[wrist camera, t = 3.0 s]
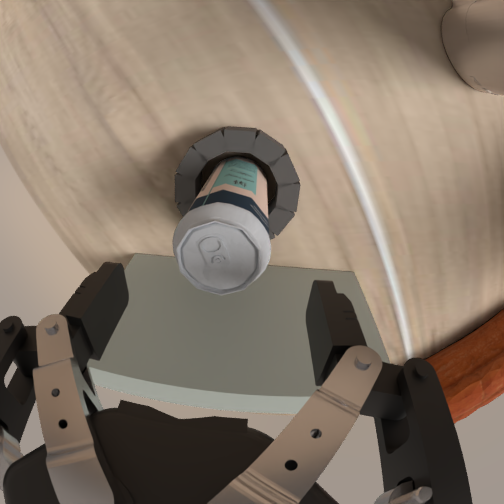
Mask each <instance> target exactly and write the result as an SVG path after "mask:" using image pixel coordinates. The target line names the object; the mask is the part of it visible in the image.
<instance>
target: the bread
mask: <svg viewBox="0 0 504 504" xmlns="http://www.w3.org/2000/svg"><path fill="white" fill-rule="evenodd" d="M426 361H427V362H429V363H430V364H431V365H432V366H433V367H434V369H435V371H436V374H437V376H438V379H439V381H440V384H441V387H442V390H443V392H444V395H445V398H446V401H447V404H448V407H449V410H450V413H451V416H452V419H453V422H454V424H455V423H456V422H457V421H459V420H461V419H464V418H466V417H467V416H469V415H470V414H472V413H473V412H474V411H476V410H477V409H478V408H480V407H482V406H484V405H486V404H488V403H490V402H491V401H493V400H494V399H495V398H497V397H498V396H500V395H501V394H503V393H504V309H503V310H502V311H501V312H499V313H498V314H497V315H495V316H494V317H493V318H492V319H490V320H489V321H488V322H486V323H485V324H484V325H482V326H481V327H479V328H478V329H477V330H475V331H473V332H472V333H470V334H469V335H467V336H466V337H464V338H463V339H461V340H459V341H458V342H456V343H454V344H452V345H450V346H449V347H447V348H445V349H443V350H441V351H440V352H438V353H436V354H435V355H433V356H431V357H429V358H427V359H426Z"/></svg>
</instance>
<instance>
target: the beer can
mask: <svg viewBox="0 0 504 504" xmlns="http://www.w3.org/2000/svg"><path fill="white" fill-rule="evenodd" d="M173 252H174V255H175V258H176V261H177V263H178V266H179V270H180V272H181V273H182V274H183V275H184V276H185V277H186V278H187V279H188V280H189V281H190V282H191V283H192V284H193V285H194V286H195V287H196V288H197V289H200V290H203V291H207V292H210V293H214V294H218V295H225V294H230V293H234V292H238V291H242V290H245V289H246V288H247V287H248V286H249V285H250V284H251V283H252V282H254V281H255V280H256V279H257V278H258V277H259V276H260V275H261V274H262V273H263V272H264V271H265V269H266V267H267V265H268V263H269V260H270V256H271V243H270V238H269V223H268V201H267V177H266V175H265V172H264V171H263V169H262V168H261V166H259V165H258V164H257V163H256V162H255V161H253V160H251V159H249V158H246V157H239V156H234V157H230V158H227V159H225V160H222V161H221V162H219V163H218V164H217V165H216V166H215V167H214V169H213V171H212V172H211V174H210V177H209V178H208V180H207V182H206V183H205V185H204V186H203V188H202V189H201V191H200V193H199V194H198V196H197V197H196V199H195V201H194V202H193V204H192V205H191V207H190V209H189V210H188V212H187V214H186V215H185V216H184V217H183V218H182V219H181V220H180V222H179V224H178V226H177V227H176V229H175V232H174V237H173Z"/></svg>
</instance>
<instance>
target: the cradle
mask: <svg viewBox="0 0 504 504" xmlns="http://www.w3.org/2000/svg"><path fill="white" fill-rule="evenodd" d="M225 152H242V153H251V154H252V155H254V156H255V157H257V158H258V159H260V160H261V161H263V162H264V163H266V164H267V165H269V167H270V169H271V171H272V173H273V175H274V177H275V179H276V189H275V196H274V197H273V198H272V200H271V201H270V202H269V204H268V223H269V238H270V240H271V239H273V238H275V236H274V234H276V235H277V236H278V235H279V234H280V232H281V231H282V230H283V229H284V228H285V226H286V225H287V224H288V223H289V222H290V220H291V219H292V218H293V217H294V216H295V214H294V212H296V211H297V204H298V197H299V191H300V183H299V181H300V180H299V178H298V175H297V173H296V171H295V168H294V166H293V164H292V162H291V159H290V157H289V155H288V153H287V151H286V148H285V149H284V147H283V145H282V144H280V143H279V142H277V141H276V140H275V139H273V138H272V137H270V136H269V135H267V134H266V133H264V132H263V131H261V130H260V131H259V132H258V133H257V135H256V128H245V127H227V128H226V129H225V127H224V128H222V129H220V130H218V131H216V132H214V133H212V134H210V135H208V136H206V137H204V138H202V139H200V140H199V141H197V142H196V143H195V144H193V146H191V147H190V148H189V150H188V152H187V153H186V155H185V157H184V158H183V160H182V162H181V163H180V165H179V167H178V169H177V170H176V172H177V174H176V175H175V202H179V203H178V204H177V208H178V209H179V211H180V213H181V214H182V216H183V217H184V216H185V215H186V214H187V212H188V210H189V209H190V207H191V205H192V204H193V202H194V201H195V199H196V197H197V196H198V194H199V193H200V191H201V185H202V170H203V168H204V167H205V165H206V164H207V162H208V161H209V160H211V159H213V158H215V157H217V156H219V155H221V154H223V153H225Z"/></svg>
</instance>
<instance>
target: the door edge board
mask: <svg viewBox="0 0 504 504" xmlns="http://www.w3.org/2000/svg"><path fill="white" fill-rule="evenodd" d="M124 272H125V277H126V282H127V287H128V291H129V301H128V305H127V307H126V309H125V311H124V313H123V315H122V317H121V319H120V321H119V323H118V324H117V326H116V328H115V330H114V332H113V334H112V336H111V338H110V340H109V342H108V344H107V346H106V349H105V351H104V353H103V355H102V357H101V359H100V361H97V360H93V359H89V361H88V363H87V364H88V366H89V369H90V372H91V376H92V379H93V382H94V385H98V386H101V387H104V388H108V389H112V390H115V391H119V392H123V393H127V394H132V395H136V396H140V397H144V398H149V399H154V400H159V401H164V402H170V403H175V404H181V405H188V406H195V407H203V408H210V409H219V410H228V411H241V412H255V413H281V414H297V413H298V412H299V411H300V409H301V408H302V407H303V406H304V404H305V403H306V402H307V401H308V399H309V398H310V397H311V396H312V394H313V393H314V392H315V391H316V390H317V389H318V390H319V389H320V388H321V386H316V385H315V378H314V371H313V364H312V358H311V352H310V345H309V339H308V333H307V327H306V309H307V304H308V300H309V296H310V292H311V288H312V284H313V281H314V280H329V281H333V283H334V286H335V289H336V291H337V293H344V294H345V295H346V296H347V298H348V299H349V300H350V301H351V302H352V305H353V307H354V310H355V313H356V315H357V320H358V321H359V323H360V326H361V329H362V332H363V335H364V337H365V340H366V343H367V346H368V347H369V348H371V349H373V350H374V351H376V352H377V353H378V354H379V356H380V357H381V360H382V361H383V362H386V363H389V364H390V361H389V358H388V355H387V352H386V350H385V347H384V344H383V342H382V339H381V336H380V334H379V331H378V328H377V326H376V323H375V321H374V318H373V316H372V313H371V311H370V308H369V306H368V304H367V301H366V299H365V296H364V294H363V292H362V289H361V287H360V285H359V282H358V280H357V278H356V275H355V273H354V272H347V271H333V270H320V269H308V268H295V267H283V266H270V265H267V267H266V269H265V271H264V272H263V273H262V274H261V275H260V276H259V277H258V278H257V279H256V280H255V281H254V282H252V283H251V284H250V285H249V286H248V287H247V288H246V289H245V290H242V291H238V292H234V293H230V294H225V295H218V294H214V293H210V292H207V291H203V290H200V289H197V288H196V287H195V286H194V285H193V284H192V283H191V282H190V281H189V280H188V279H187V278H186V277H185V276H184V275H183V274H182V273H181V272H180V270H179V266H178V263H177V261H176V258H175V257H169V256H159V255H148V254H138V253H136V254H135V255H134V256H133V258H132V259H131V261H130V262H129V264H128V265H127V267H126V268H125V270H124Z"/></svg>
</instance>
